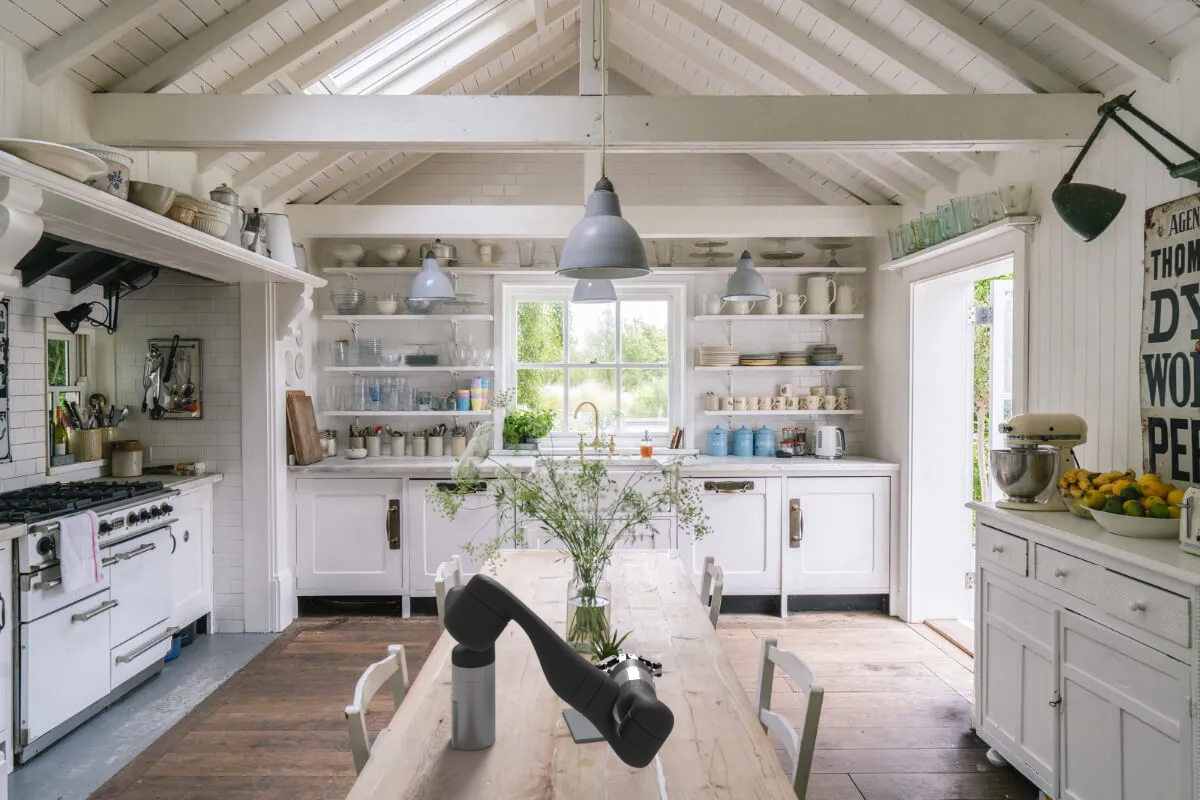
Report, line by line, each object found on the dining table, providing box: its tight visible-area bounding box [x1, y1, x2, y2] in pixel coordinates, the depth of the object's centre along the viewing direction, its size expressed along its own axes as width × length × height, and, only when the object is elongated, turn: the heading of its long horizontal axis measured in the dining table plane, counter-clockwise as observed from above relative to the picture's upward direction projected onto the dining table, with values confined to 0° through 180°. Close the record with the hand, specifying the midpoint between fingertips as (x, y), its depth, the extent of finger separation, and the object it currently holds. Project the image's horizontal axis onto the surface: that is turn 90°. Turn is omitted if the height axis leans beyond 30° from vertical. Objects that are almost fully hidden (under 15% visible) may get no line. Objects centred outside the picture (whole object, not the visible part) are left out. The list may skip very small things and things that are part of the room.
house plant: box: [580, 625, 635, 667], centre depth 198 cm, size 14×14×16 cm
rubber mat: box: [561, 704, 620, 743], centre depth 180 cm, size 20×16×1 cm
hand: (625, 653), depth 158 cm, fingers closed
